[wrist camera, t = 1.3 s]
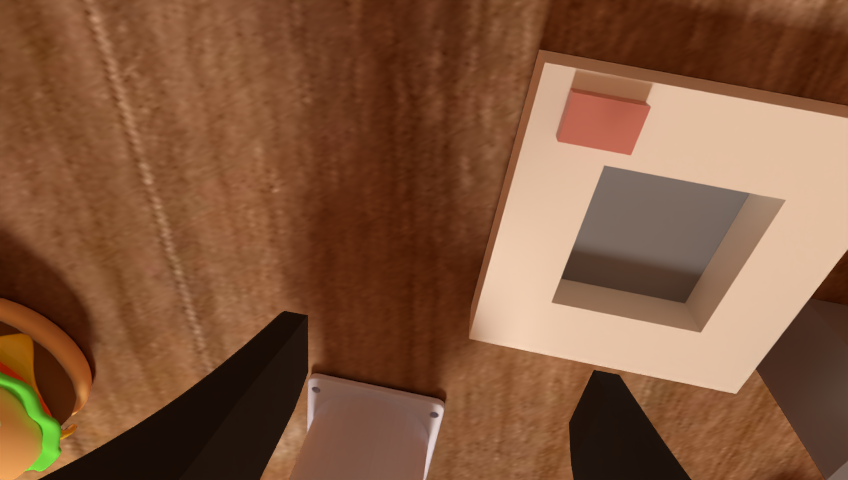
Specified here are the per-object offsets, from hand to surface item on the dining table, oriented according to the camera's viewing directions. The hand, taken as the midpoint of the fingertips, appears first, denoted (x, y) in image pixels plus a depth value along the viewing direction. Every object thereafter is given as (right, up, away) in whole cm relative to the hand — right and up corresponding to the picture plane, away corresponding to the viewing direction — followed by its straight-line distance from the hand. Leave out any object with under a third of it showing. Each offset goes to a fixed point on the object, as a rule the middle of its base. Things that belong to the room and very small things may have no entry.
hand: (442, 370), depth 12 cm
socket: (+9, +4, +8) cm, 12 cm away
